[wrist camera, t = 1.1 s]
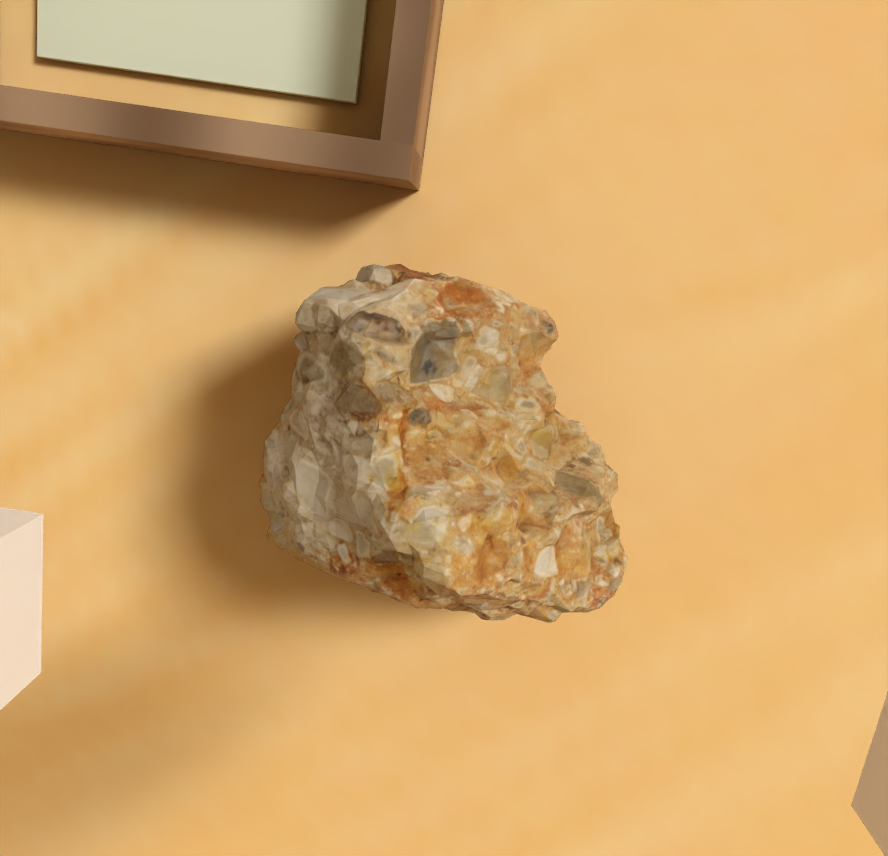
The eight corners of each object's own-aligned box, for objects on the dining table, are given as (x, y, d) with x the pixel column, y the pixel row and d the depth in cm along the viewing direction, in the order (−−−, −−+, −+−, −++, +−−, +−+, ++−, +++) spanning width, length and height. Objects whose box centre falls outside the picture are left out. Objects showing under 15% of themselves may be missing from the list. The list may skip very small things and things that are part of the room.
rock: (277, 487, 28) (167, 610, 18) (366, 231, 26) (293, 216, 16) (562, 597, 29) (601, 773, 19) (676, 355, 26) (789, 413, 16)
